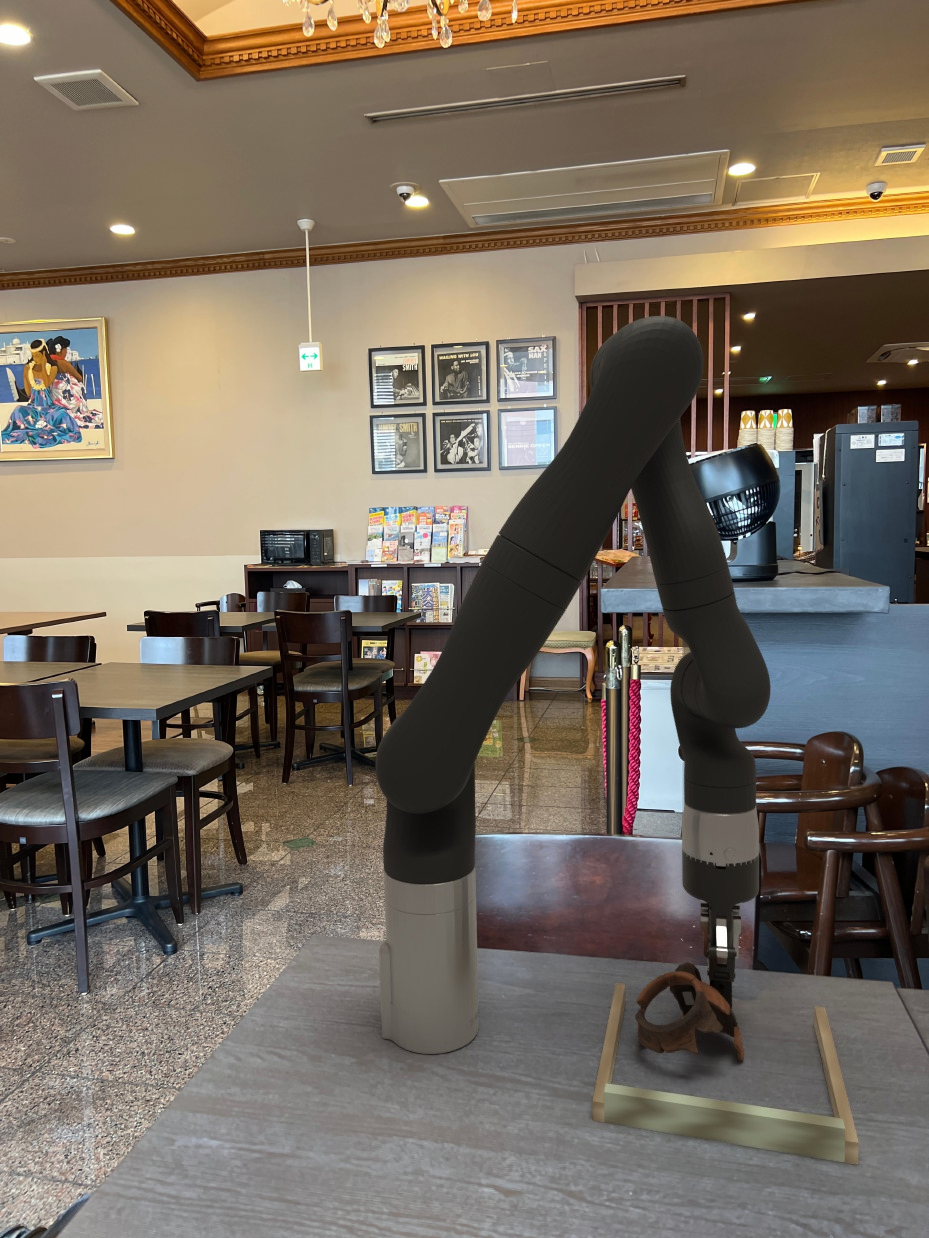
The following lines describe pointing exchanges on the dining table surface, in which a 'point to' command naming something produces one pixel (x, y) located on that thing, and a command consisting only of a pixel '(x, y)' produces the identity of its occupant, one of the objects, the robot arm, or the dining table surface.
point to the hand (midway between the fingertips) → (720, 1007)
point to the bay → (730, 1106)
